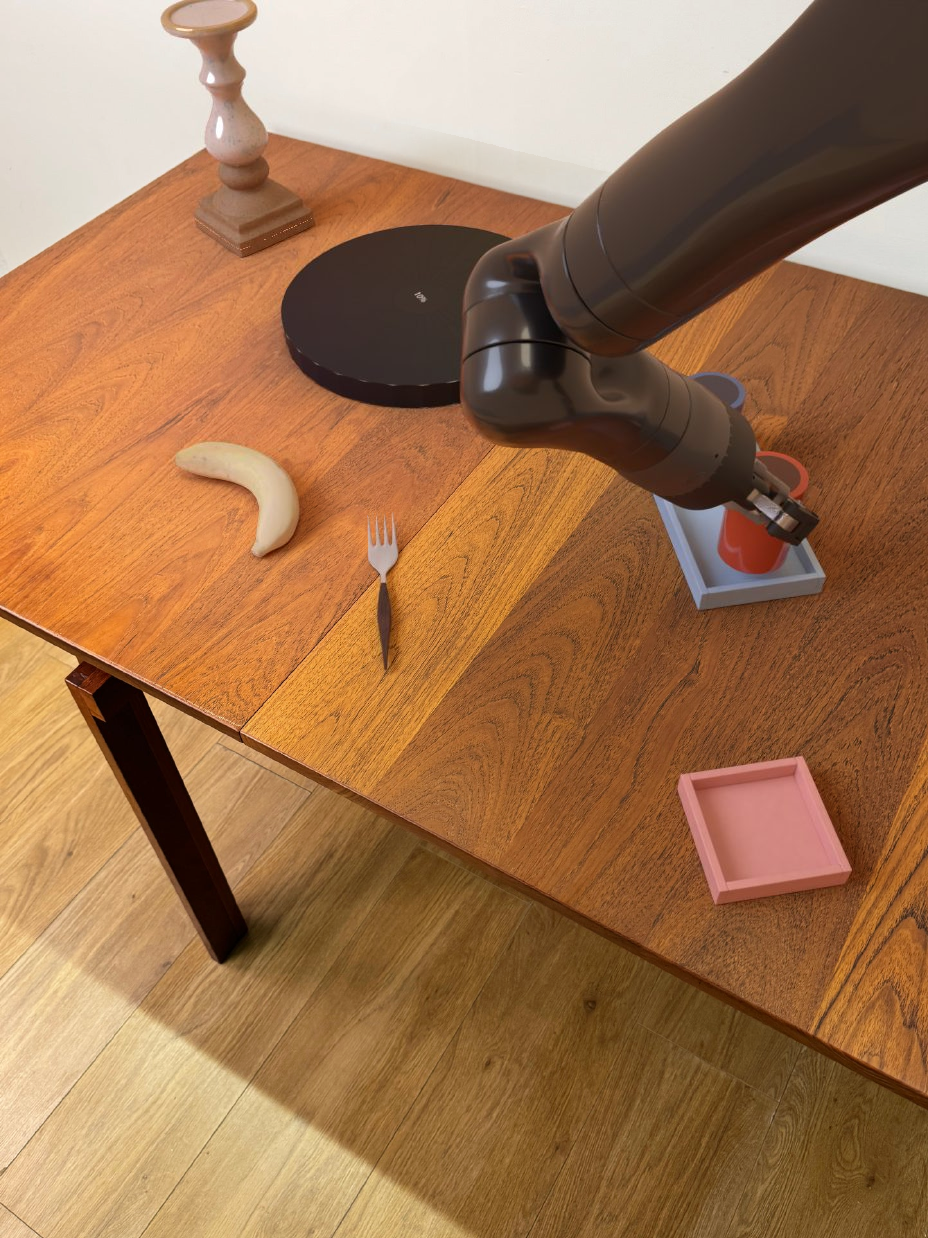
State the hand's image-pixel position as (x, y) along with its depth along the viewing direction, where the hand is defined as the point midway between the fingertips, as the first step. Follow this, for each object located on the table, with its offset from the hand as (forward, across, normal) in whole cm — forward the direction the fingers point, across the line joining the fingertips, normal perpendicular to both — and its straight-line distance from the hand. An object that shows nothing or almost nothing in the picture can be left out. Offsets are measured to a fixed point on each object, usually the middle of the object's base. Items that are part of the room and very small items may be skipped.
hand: (778, 502), depth 78 cm
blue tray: (+5, +6, +4) cm, 9 cm away
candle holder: (-5, +77, +14) cm, 78 cm away
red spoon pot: (+2, 0, +4) cm, 5 cm away
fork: (-15, +14, +25) cm, 32 cm away
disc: (0, +47, +9) cm, 48 cm away
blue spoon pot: (+7, +12, +2) cm, 14 cm away
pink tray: (-7, -19, +17) cm, 27 cm away
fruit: (-19, +32, +29) cm, 47 cm away
